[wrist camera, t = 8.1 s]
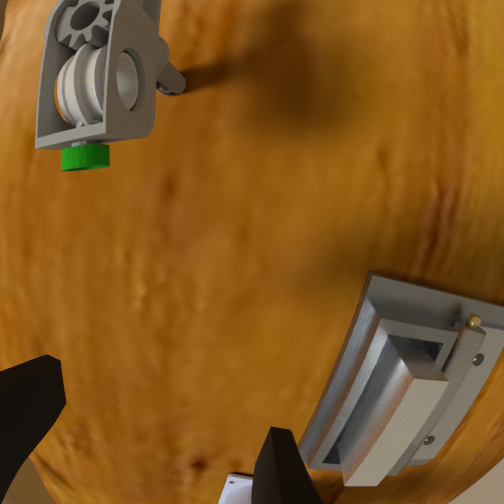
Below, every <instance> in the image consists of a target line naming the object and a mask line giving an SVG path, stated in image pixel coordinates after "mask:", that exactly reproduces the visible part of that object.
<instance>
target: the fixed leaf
mask: <svg viewBox="0 0 504 504" xmlns="http://www.w3.org/2000/svg"><path fill="white" fill-rule="evenodd" d="M389 334H391V335H396V336H402V337H408V338H414V339H417V340H418V341H419V342H420V343H421V345H422V346H423V347H424V349H425V350H426V351H427V352H428V354H429V355H430V356H431V358H432V359H433V360H434V362H435V363H436V364H437V366H438V367H439V368H440V370H441V371H442V372H443V374H444V375H445V376H446V378H447V379H448V380H449V383H448V385H447V387H446V388H445V390H444V392H443V394H442V395H441V397H440V399H439V400H438V402H437V404H436V405H435V407H434V409H433V410H432V412H431V413H430V415H429V417H428V418H427V420H426V421H425V423H424V424H423V426H422V427H421V429H420V430H419V432H418V433H417V435H416V436H415V437H414V439H413V440H412V442H411V443H410V445H409V446H408V447H407V449H406V450H405V451H404V453H403V454H402V455H401V457H400V458H399V459H398V461H397V462H396V463H395V464H394V466H393V467H392V468H391V470H390V471H389V472H388V473H387V474H386V475H388V476H395V475H398V474H399V473H400V472H401V471H402V470H403V469H404V467H405V466H406V465H423V464H426V463H427V462H428V461H429V459H433V458H434V457H435V456H436V455H437V453H438V452H439V451H440V449H441V448H442V447H443V446H444V444H445V443H446V442H447V440H448V439H449V437H450V436H451V435H452V433H453V432H454V430H455V429H456V428H457V426H458V425H459V423H460V422H461V420H462V419H463V417H464V416H465V414H466V413H467V411H468V410H469V408H470V406H471V405H472V403H473V402H474V400H475V398H476V397H477V395H478V393H479V392H480V390H481V388H482V387H483V385H484V383H485V381H486V380H487V378H488V376H489V374H490V372H491V370H492V369H493V367H494V365H495V363H496V361H497V359H498V357H499V355H500V353H501V351H502V349H503V347H504V305H502V304H498V303H494V302H491V301H487V300H483V299H479V298H475V297H471V296H467V295H463V294H459V293H455V292H451V291H447V290H443V289H439V288H435V287H431V286H428V285H424V284H420V283H416V282H412V281H407V280H403V279H399V278H395V277H391V276H387V275H383V274H379V273H375V272H371V271H369V273H368V276H367V279H366V282H365V285H364V288H363V291H362V294H361V297H360V300H359V303H358V305H357V308H356V311H355V314H354V317H353V319H352V322H351V325H350V327H349V330H348V333H347V335H346V338H345V341H344V343H343V346H342V348H341V351H340V353H339V356H338V358H337V361H336V363H335V366H334V368H333V370H332V373H331V375H330V377H329V380H328V382H327V384H326V387H325V389H324V391H323V393H322V396H321V398H320V400H319V402H318V404H317V407H316V409H315V411H314V413H313V415H312V417H311V419H310V421H309V423H308V426H307V428H306V430H305V432H304V434H303V436H302V438H301V440H300V442H299V444H298V446H297V448H298V450H299V453H300V455H301V458H302V460H303V462H305V463H307V467H308V468H310V469H322V470H338V471H342V470H341V464H340V459H339V453H338V448H337V442H336V439H337V437H338V436H339V434H340V432H341V431H342V429H343V427H344V425H345V423H346V422H347V420H348V418H349V416H350V414H351V412H352V411H353V409H354V407H355V405H356V403H357V401H358V399H359V397H360V395H361V393H362V391H363V389H364V387H365V385H366V383H367V381H368V379H369V377H370V375H371V373H372V371H373V369H374V366H375V364H376V362H377V360H378V358H379V355H380V353H381V351H382V349H383V346H384V344H385V342H386V339H387V337H388V335H389Z"/></svg>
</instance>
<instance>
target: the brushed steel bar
mask: <svg viewBox="0 0 504 504" xmlns="http://www.w3.org/2000/svg"><path fill="white" fill-rule="evenodd" d="M448 383H449V380H448V379H447V378H446V376H445V375H444V374H443V372H442V371H441V370H440V368H439V367H438V366H437V364H436V363H435V362H434V360H433V359H432V358H431V356H430V355H429V354H428V352H427V351H426V350H425V349H424V347H423V346H422V345H421V343H420V342H419V341H418V340H417V339H414V338H408V337H402V336H396V335H391V334H389V335H388V337H387V339H386V342H385V344H384V346H383V349H382V351H381V353H380V355H379V358H378V360H377V362H376V364H375V366H374V369H373V371H372V373H371V375H370V377H369V379H368V381H367V383H366V385H365V387H364V389H363V391H362V393H361V395H360V397H359V399H358V401H357V403H356V405H355V407H354V409H353V411H352V412H351V414H350V416H349V418H348V420H347V422H346V423H345V425H344V427H343V429H342V431H341V432H340V434H339V436H338V437H337V439H336V442H337V448H338V453H339V459H340V464H341V470H342V476H343V482H344V486H377V485H378V484H379V483H380V482H381V480H382V479H383V478H384V477H385V476H386V474H387V473H388V472H389V471H390V470H391V468H392V467H393V466H394V464H395V463H396V462H397V461H398V459H399V458H400V457H401V455H402V454H403V453H404V451H405V450H406V449H407V447H408V446H409V445H410V443H411V442H412V440H413V439H414V437H415V436H416V435H417V433H418V432H419V430H420V429H421V427H422V426H423V424H424V423H425V421H426V420H427V418H428V417H429V415H430V413H431V412H432V410H433V409H434V407H435V405H436V404H437V402H438V400H439V399H440V397H441V395H442V394H443V392H444V390H445V388H446V387H447V385H448Z"/></svg>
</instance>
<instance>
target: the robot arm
mask: <svg viewBox="0 0 504 504" xmlns="http://www.w3.org/2000/svg"><path fill="white" fill-rule="evenodd" d="M65 404H66V397H65V391H64V384H63V377H62V369H61V361H60V360H58V359H56V358H54V357H52V356H50V355H48V354H47V355H44V356H41V357H38V358H35V359H32V360H30V361H27V362H24V363H22V364H19V365H17V366H14V367H11V368H8V369H6V370H3V371H0V504H1V503H2V501H3V499H4V496H5V494H6V492H7V490H8V488H9V486H10V484H11V482H12V481H13V479H14V477H15V475H16V474H17V472H18V470H19V468H20V467H21V466H22V464H23V463H24V461H25V460H26V459H27V457H28V456H29V455H30V454H31V452H32V451H33V450H34V449H35V447H36V446H37V445H38V444H39V442H40V441H41V440H42V439H43V437H44V436H45V435H46V434H47V432H48V431H49V430H50V429H51V427H52V426H53V425H54V423H55V422H56V420H57V418H58V417H59V415H60V413H61V412H62V410H63V408H64V406H65ZM218 504H324V502H323V500H322V499H321V497H320V495H319V493H318V492H317V490H316V488H315V485H314V484H313V482H312V480H311V478H310V476H309V474H308V472H307V469H306V467H305V465H304V463H303V460H302V458H301V455H300V453H299V450H298V448H297V445H296V442H295V439H294V437H293V434H292V432H291V430H289V429H282V428H276V427H270V430H269V432H268V435H267V437H266V440H265V442H264V444H263V447H262V449H261V452H260V454H259V456H258V459H257V461H256V463H255V470H254V476H253V477H248V476H242V475H237V474H230V475H228V477H227V480H226V483H225V486H224V488H223V491H222V494H221V497H220V499H219V502H218Z"/></svg>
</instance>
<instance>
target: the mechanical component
mask: <svg viewBox="0 0 504 504" xmlns="http://www.w3.org/2000/svg"><path fill="white" fill-rule="evenodd" d="M160 10H161V0H59V1H58V2H57V4H56V5H55V7H54V8H53V10H52V11H51V13H50V15H49V17H48V20H47V22H46V26H45V31H44V38H45V45H44V51H43V57H42V64H41V71H40V79H39V88H38V99H37V113H36V135H35V149H52V150H61V163H62V171H80V170H89V169H97V168H104V167H109V166H110V159H109V145H105V144H104V143H110V142H116V141H123V140H129V139H137V138H144V137H147V136H148V135H149V134H150V132H151V131H152V128H153V125H154V120H155V99H156V90H157V91H159V92H160V93H162V94H163V95H165V96H169V93H171V92H174V93H175V94H179V93H182V92H183V91H184V89H185V87H186V80H185V78H184V77H183V75H182V74H181V73H180V72H179V71H178V70H177V69H176V68H175V67H174V66H173V65H172V64H171V63H170V62H169V61H168V59H169V48H168V45H167V43H166V42H165V40H164V39H162V38H161V37H159V36H158V34H159V21H160ZM60 70H61V72H60ZM59 72H60V74H59V79H58V86H57V92H58V101H59V105H60V109H61V111H62V113H63V115H64V117H65V119H66V120H67V121H68V122H69V123H70V124H69V123H67V122H66V121H65V120H63V118H62V117H61V116H60V114H59V112H58V110H57V107H56V104H55V98H54V86H55V81H56V78H57V75H58V73H59Z"/></svg>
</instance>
